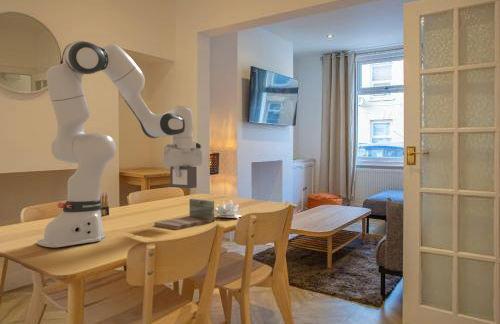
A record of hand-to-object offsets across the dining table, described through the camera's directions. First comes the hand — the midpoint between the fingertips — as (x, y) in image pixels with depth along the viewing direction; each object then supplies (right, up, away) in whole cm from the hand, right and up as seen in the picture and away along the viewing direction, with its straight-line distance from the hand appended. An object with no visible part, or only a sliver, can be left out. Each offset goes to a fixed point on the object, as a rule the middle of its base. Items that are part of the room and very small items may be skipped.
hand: (183, 176), depth 158 cm
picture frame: (0, -5, 0) cm, 4 cm away
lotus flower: (+18, -21, +17) cm, 33 cm away
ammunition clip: (-43, -21, +16) cm, 50 cm away
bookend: (+1, -21, +1) cm, 21 cm away
